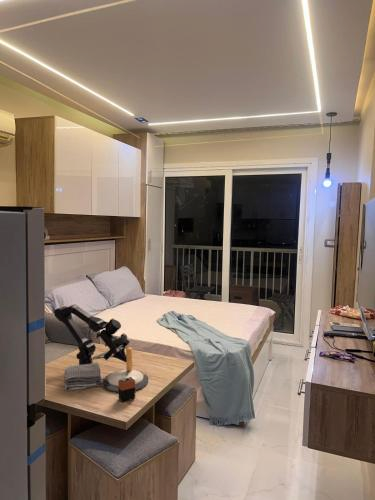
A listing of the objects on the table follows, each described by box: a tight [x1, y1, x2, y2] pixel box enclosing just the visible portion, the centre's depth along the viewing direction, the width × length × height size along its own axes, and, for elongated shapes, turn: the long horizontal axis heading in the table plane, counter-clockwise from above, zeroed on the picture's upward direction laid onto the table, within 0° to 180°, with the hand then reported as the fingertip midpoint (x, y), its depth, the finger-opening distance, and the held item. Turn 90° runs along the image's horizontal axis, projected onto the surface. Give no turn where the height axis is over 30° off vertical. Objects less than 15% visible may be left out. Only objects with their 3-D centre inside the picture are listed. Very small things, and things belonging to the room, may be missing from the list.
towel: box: [64, 362, 103, 392], centre depth 184 cm, size 15×18×8 cm
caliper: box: [92, 350, 109, 360], centre depth 221 cm, size 20×1×6 cm, turn 120°
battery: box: [118, 377, 136, 403], centre depth 168 cm, size 4×7×10 cm, turn 123°
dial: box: [108, 347, 143, 387], centre depth 185 cm, size 18×18×13 cm
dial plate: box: [102, 370, 149, 394], centre depth 185 cm, size 23×23×2 cm
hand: (126, 361), depth 193 cm, fingers closed, pressing on dial
